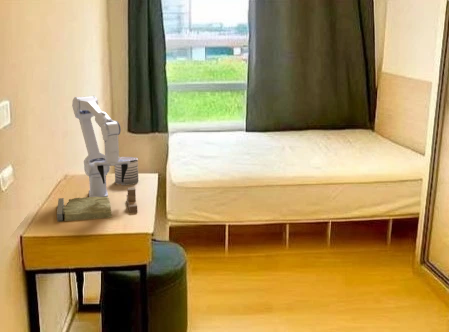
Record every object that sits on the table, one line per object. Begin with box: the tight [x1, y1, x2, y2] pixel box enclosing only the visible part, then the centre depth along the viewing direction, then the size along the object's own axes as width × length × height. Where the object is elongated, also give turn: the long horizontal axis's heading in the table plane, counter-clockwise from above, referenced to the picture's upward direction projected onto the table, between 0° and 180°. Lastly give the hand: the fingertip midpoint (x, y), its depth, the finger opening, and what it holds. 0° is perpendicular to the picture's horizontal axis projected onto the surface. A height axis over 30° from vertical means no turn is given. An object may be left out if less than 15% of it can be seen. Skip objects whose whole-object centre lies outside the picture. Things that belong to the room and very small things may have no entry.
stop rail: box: [56, 197, 65, 222], centre depth 223 cm, size 20×2×3 cm, turn 14°
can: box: [114, 156, 139, 186], centre depth 266 cm, size 11×11×12 cm
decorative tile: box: [63, 196, 113, 222], centre depth 226 cm, size 19×20×4 cm
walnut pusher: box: [126, 187, 138, 214], centre depth 231 cm, size 16×3×8 cm, turn 14°
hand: (113, 182), depth 233 cm, fingers open, 7 cm apart
